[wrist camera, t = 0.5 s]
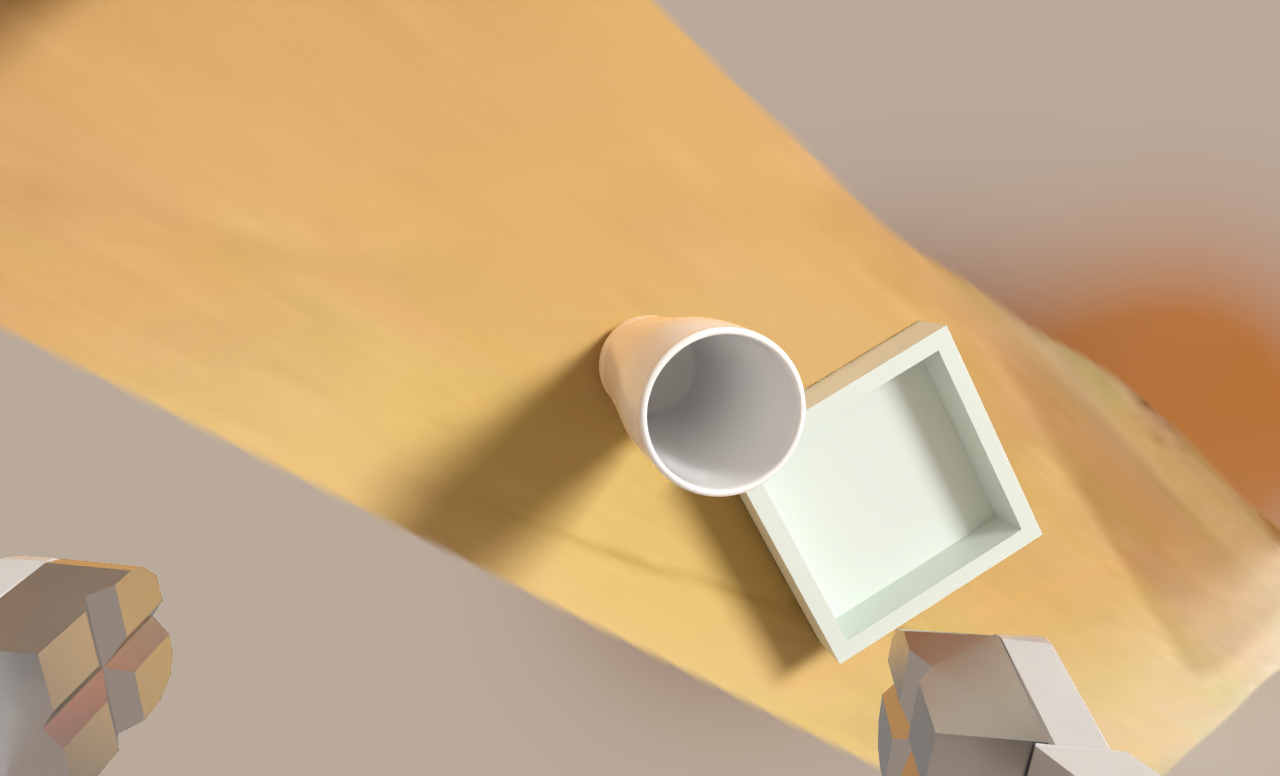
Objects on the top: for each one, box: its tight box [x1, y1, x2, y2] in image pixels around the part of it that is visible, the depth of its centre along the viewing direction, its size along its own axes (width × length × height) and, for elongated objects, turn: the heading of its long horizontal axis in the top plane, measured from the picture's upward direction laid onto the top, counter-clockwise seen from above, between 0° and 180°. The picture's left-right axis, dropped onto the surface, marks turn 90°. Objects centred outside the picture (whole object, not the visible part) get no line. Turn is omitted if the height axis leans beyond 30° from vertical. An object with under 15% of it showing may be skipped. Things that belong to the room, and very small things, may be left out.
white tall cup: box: [599, 315, 806, 497], centre depth 41 cm, size 7×7×15 cm
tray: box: [739, 321, 1042, 664], centre depth 50 cm, size 14×14×3 cm
